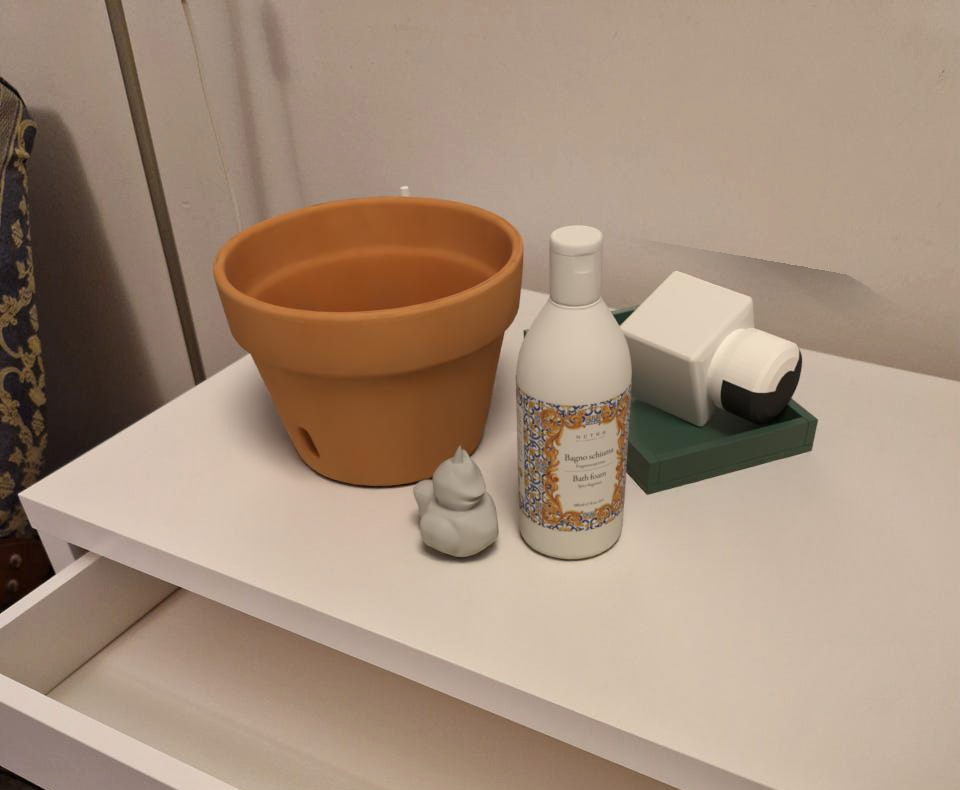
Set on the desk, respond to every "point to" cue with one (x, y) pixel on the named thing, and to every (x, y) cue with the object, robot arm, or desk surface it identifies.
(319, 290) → the flower pot
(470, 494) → the rubber duck
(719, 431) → the tray
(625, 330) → the medicine bottle
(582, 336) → the bath foam
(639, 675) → the desk surface
